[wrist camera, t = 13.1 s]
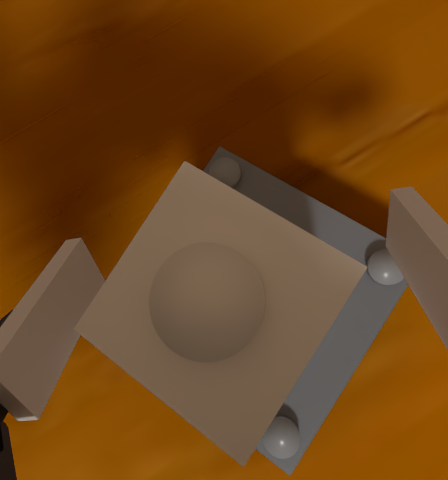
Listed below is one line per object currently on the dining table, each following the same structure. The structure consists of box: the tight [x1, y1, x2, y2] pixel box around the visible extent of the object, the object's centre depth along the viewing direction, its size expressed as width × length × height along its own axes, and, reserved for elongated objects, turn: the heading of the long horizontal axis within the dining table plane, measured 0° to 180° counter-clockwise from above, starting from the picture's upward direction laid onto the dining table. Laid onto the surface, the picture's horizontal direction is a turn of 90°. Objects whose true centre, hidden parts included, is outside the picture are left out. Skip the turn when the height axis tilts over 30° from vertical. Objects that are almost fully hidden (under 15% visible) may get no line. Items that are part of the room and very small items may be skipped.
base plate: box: [203, 146, 408, 475], centre depth 22 cm, size 14×14×5 cm
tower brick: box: [74, 161, 367, 467], centre depth 14 cm, size 6×6×12 cm
